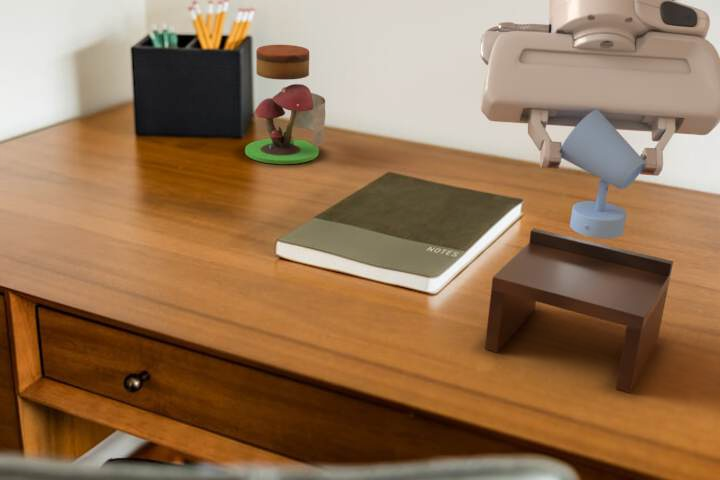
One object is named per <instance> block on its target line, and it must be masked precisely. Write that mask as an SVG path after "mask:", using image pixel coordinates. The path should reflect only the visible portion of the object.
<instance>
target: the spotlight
mask: <svg viewBox="0 0 720 480" xmlns="http://www.w3.org/2000/svg"><path fill="white" fill-rule="evenodd" d="M560 153H561V159H563V160H565V161H566V162H568V163H570V164H572V165H574V166H576V167H577V168H580V169H581V170H584V171H585V172H587V173H589V174H591V175H593V176H594V177H596V178H598V179H599V182H598V190H597V195H596V200H584V201H579V202H576V203H574V204H573V206H572V209H571V215H570V222H569V227H570V229H571V230H572V231H574V232H576V233H577V234H579V235H582V236H585V237H587V238H588V237H589V238H594V239H602V240H608V239H617V238H620V237H622V236H623V235H624V232H625V227H626V221H627V212H626V210H625V209H623V208H622V207H620V206H618V205H615V204H612V203H609V202H607V197H608V191H609V186H610V185H611V186H613V187H615V188H617V189H619V190H621V191H625V190H626V189H627V188H629V186H630V185H631V184H632V183H633V182H634V181H635V180H636V179H637V178H638V177H639V176H640V175H641V174H640V172H641V171H642V170H643V168H644V166H645V164H646V162H645V161H644V160H643V159H642V158H641V157H640V154H639V153H638V152H637V151H636V150H635V149H634V148H633V146H631V144H630V143H629V142H628V141H627V140H626V139H625V138H624V137H623V136H622V134H621V133H620V132H619V131H618V129H615V128H614V127H613V126H612V125H611V123H610V122H609V121H608V120H607V119H606V118H605V117H604V116H603V115H602V113H601V112H600V111H599V110H594V111H592V112H591V113H589V114H588V115H587V116H586V117H585V118H583V119H582V120H581V121H580V122H579V124H578V125H577V126H576V127H573V129H572V130H571V131H570V133H569V134H568V136H567V137H566V139H565V140H564V142H563V144H561V152H560Z"/></svg>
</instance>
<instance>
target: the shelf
mask: <svg viewBox="0 0 720 480" xmlns="http://www.w3.org/2000/svg"><path fill="white" fill-rule="evenodd" d="M673 265H674V261H673V260H670V259H665V258H662V257H657V256H654V255H648V254H645V253H640V252H636V251H632V250H627V249H624V248H619V247H616V246H615V247H614V246H611V245H607V244H602V243H597V242H594V241H589V240H585V239H581V238H577V237H573V236H569V235H565V234H560V233H556V232H551V231H547V230H543V229H538V228H532V229H531V230H530V235H529V242H528V243H527V244H526V245H525V246H524V247H523V248H522V249H521V250H519V252H517V253H516V254H515V256H513V257H512V258H511V259H510V260H509V261H508V262H506V264H505V265H503V267H502V268H501V269H499V270H498V272H496V274H494V275H493V276H492V280H491V281H492V282H491V289H490V299H489V307H488V317H487V325H486V334H485V342H484V343H485V344H484V349H485V351H490V352H492V353H495V354H496V353H498V352H499V351H500V350H501V349H502V348H503V347H504V346H505V344H506V343H507V342H508V341H509V340H510V339H511V338H512V336H514V334H515V333H516V332H517V331H518V330H519V329H520V327H521V326H522V325H523V324H524V323H525V322H526V321H527V319H528V318H529V317H530V316H531V314H533V312H534V311H535V310H536V303H541V304H544V305H547V306H552V307H555V308H559V309H562V310H565V311H566V310H567V311H571V312H574V313H577V314H580V315H581V314H582V315H584V316H588V317H592V318H596V319H600V320H603V321H607V322H609V323H610V322H611V323H614V324H618V325H621V326H626V329H625V334H624V339H623V345H622V350H621V356H620V363H619V367H618V372H617V377H616V384H615V390H617V391H621V392H623V393H627V394H630V393H631V391H632V389H633V388H634V385H636V382H637V380H638V378H639V376H640V375H641V373H642V371H643V369H644V367H645V366H646V364H647V362H648V360H649V359H650V356H652V353H653V351H654V350H655V348H656V346H657V344H658V341H659V335H660V330H661V325H662V320H663V314H664V309H665V305H666V299H667V295H668V290H669V285H670V279H671V276H672V270H673V269H672V268H673Z"/></svg>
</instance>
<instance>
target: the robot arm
mask: <svg viewBox="0 0 720 480" xmlns="http://www.w3.org/2000/svg"><path fill="white" fill-rule="evenodd" d="M548 7H549V9H548V10H549V11H548V15H549V16H548V22H549V23H548V24H544V23H543V24H542V23H526V24H525V23H524V24H522V23H520V24H519V23H515V22H510V21H505V22H499V23H498V25H497V26H493V27H490V28H488V29H486V30H485V32H484V33H483V35H482V36H481V39H480V57H481V59H482V61H483V63H484V64H485V65H486V67H487V68H486V72H485V76H484V81H483V88H482V94H481V103H480V110H481V112H482V114H483V116H485V117H486V118H487V120H488V121H490V122H498V123H513V124H527V134H528V136H529V138H530V139H531V141H532V142H533V143H534V145H535V146H536V148H537V149H538V151H539V152H540V155H539V156H540V157H539V159H540V160H539V161H540V163H539V164H540V168H541V169H554V170H559V169H560V165H561V164H562V158H561V153H560V152H561V147H562V142H561V141H552V139H551V137H550V135H549V134H548V132H547V130H546V128H547V126H558V127H573V128H575V127H576V126H577V125H578V124H579V122H580V121H581V120H582V119H583V118H585V117H586V116H587V115H588V114H589V113H591V112H592V111H594V110H599V111H600V112H601V113H602V115H603V116H604V117H605V118H606V119H607V120H608V121H609V122H610V123H611V125H612V126H613V127H614V128H615V129H616V130H617V131H618V130H620V131H633V132H635V131H636V132H647V133H648V132H649V133H651V141H653V142H657V143H656V145H655V146H654V147H644V149H643V150H642V153H641V154H639V156H640V157H641V158H642V159H643V160H644V161H645V162H646V164H645V166H644V168H643V170H642V171H641V172H640V174H639V175H645V176H653V177H654V176H657V177H658V176H659V175H660V174H661V173H662V171H663V167H664V153H663V152H664V150H665V148H666V147H667V145H668V144H669V142H670V141H671V139H672V137H673V136H674V135H675V134H679V135H680V134H682V135H696V136H707V135H708V134H709V133H711V132H712V131H713V130H714V129H715V128H716V127H717V126H718V125H719V124H720V55H719V53H718V50H717V49H716V47H715V46H714V44H713V43H711V41H709V40H708V39H706V38H707V35H708V33H709V30H710V25H711V20H710V16H709V14H708V13H707V12H706V11H705V10H702V9H701V8H697V7H694V6H692V5H688V4H685V3H682V2H680V1H677V0H549V6H548Z"/></svg>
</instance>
